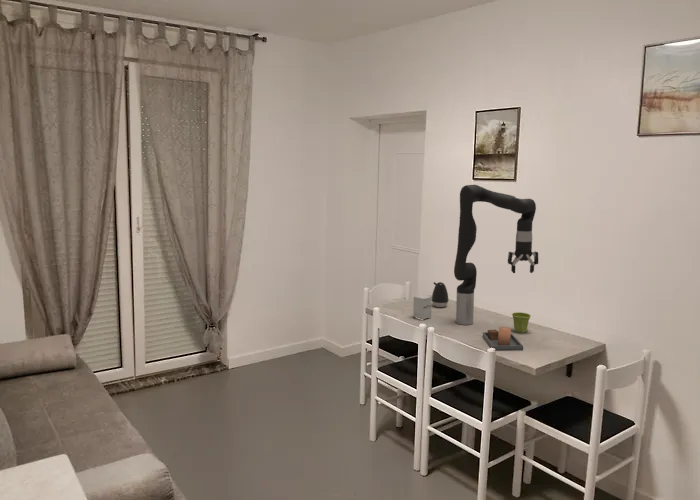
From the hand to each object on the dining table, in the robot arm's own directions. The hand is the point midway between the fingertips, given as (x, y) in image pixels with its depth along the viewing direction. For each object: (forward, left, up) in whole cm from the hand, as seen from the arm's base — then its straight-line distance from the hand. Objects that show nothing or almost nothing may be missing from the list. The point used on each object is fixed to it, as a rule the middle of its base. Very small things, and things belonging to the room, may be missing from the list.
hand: (522, 272), depth 258 cm
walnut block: (+3, -14, -32) cm, 36 cm away
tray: (+8, -11, -33) cm, 36 cm away
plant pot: (-11, +4, -33) cm, 35 cm away
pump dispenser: (-60, -30, -33) cm, 75 cm away
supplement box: (-35, -44, -33) cm, 65 cm away
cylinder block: (+12, -11, -32) cm, 36 cm away
